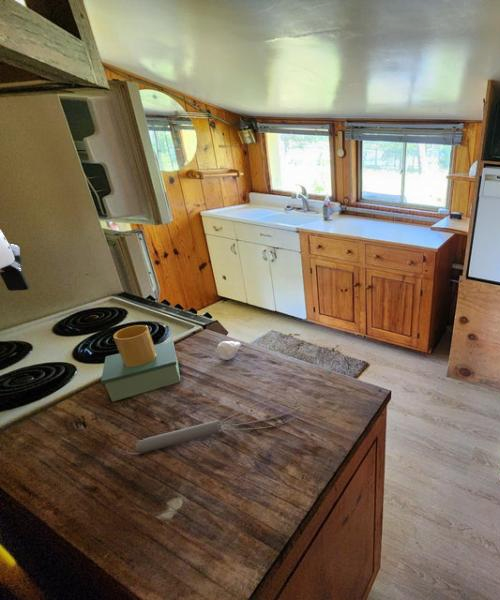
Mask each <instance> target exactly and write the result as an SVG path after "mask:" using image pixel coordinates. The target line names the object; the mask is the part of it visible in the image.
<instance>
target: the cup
mask: <svg viewBox="0 0 500 600" xmlns="http://www.w3.org/2000/svg"><path fill="white" fill-rule="evenodd" d="M112 338H113V340H114V343H115V345H116V348H117V351H118V354H119V353H120V356H121V358H122V361H123V363H124V365H125V366H128V367H136V366H141V365H144V364H147V363H149V362H151V361H152V360H154V359H155V358H156V356H157V353H156V350H155V347H154V345H155V344H154V341H153V337H152V335H151V332H150V329H149V327H148V326H147V325H142V324H138V325H130V326H126V327H124V328H121V329H119V330H117V331H116V332H115V333H114V334H113V337H112Z"/></svg>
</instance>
